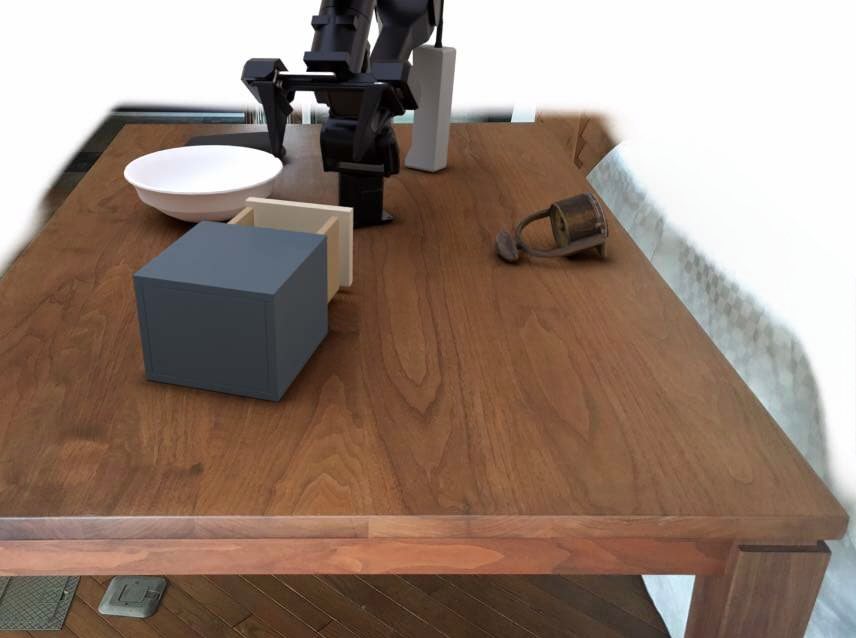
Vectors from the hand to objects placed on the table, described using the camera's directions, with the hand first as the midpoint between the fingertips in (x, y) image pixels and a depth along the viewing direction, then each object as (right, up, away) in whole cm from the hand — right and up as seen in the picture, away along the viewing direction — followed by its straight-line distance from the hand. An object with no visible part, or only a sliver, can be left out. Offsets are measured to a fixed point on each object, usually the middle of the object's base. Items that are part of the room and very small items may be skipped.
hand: (314, 158), depth 95 cm
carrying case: (-13, +11, +42) cm, 46 cm away
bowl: (-14, -2, +22) cm, 26 cm away
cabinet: (-7, -21, -11) cm, 25 cm away
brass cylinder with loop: (+27, -8, +11) cm, 30 cm away
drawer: (-3, -14, -1) cm, 14 cm away
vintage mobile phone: (+16, +9, +39) cm, 43 cm away
